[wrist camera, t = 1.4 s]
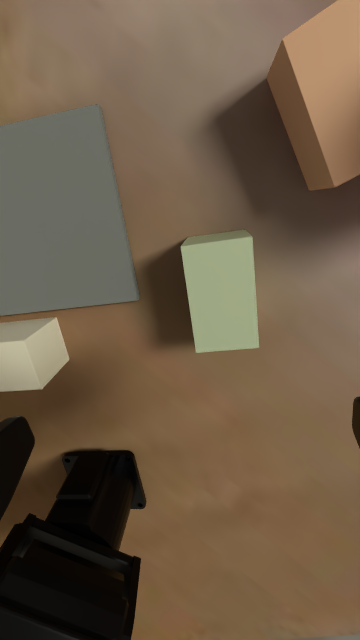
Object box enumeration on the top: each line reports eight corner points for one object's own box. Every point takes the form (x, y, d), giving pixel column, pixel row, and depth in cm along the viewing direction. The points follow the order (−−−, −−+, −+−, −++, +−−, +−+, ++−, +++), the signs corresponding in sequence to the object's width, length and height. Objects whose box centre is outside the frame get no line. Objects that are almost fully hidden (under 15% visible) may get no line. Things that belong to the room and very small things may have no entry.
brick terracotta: (373, 156, 16) (421, 141, 12) (308, 190, 17) (335, 187, 13) (335, 32, 14) (377, -28, 10) (265, 78, 15) (282, 38, 11)
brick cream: (57, 316, 22) (24, 340, 18) (70, 358, 23) (41, 389, 19) (-16, 324, 22) (-61, 347, 19) (1, 364, 24) (-39, 394, 20)
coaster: (140, 297, 20) (137, 300, 20) (-3, 313, 22) (-9, 316, 21) (101, 107, 16) (97, 103, 16) (-70, 145, 18) (-79, 143, 17)
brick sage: (251, 320, 20) (259, 347, 16) (199, 325, 21) (196, 352, 17) (244, 229, 18) (252, 236, 14) (187, 237, 18) (180, 246, 15)
